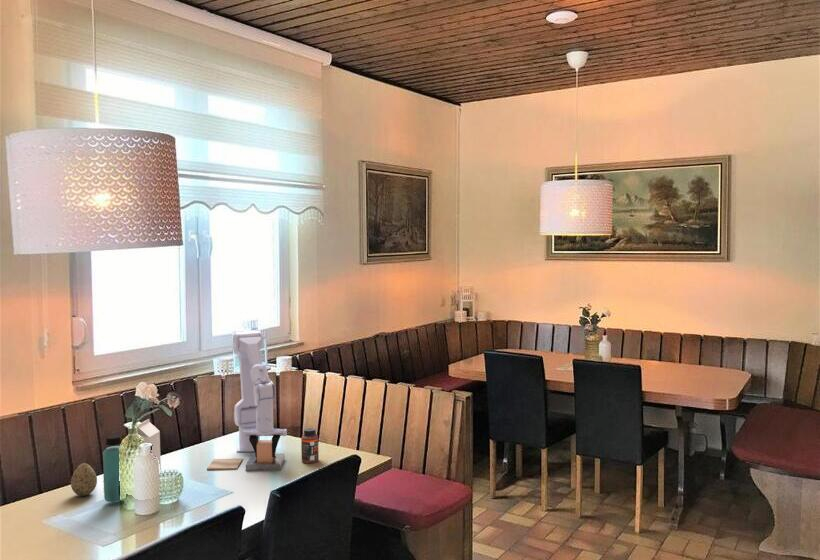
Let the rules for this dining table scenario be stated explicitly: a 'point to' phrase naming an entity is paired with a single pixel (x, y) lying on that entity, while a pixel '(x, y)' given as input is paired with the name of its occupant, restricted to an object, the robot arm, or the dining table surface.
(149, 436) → the milk carton
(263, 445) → the terracotta block
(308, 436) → the supplement bottle
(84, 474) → the decorative egg
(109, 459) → the beverage bottle
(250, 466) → the square socket
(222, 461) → the walnut pad
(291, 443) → the dining table surface
